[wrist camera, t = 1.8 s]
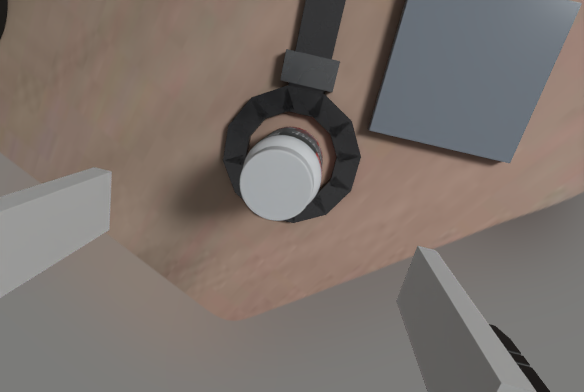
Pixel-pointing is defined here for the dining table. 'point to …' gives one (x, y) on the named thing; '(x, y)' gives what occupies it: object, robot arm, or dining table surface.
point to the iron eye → (304, 106)
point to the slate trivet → (470, 72)
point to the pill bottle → (282, 174)
